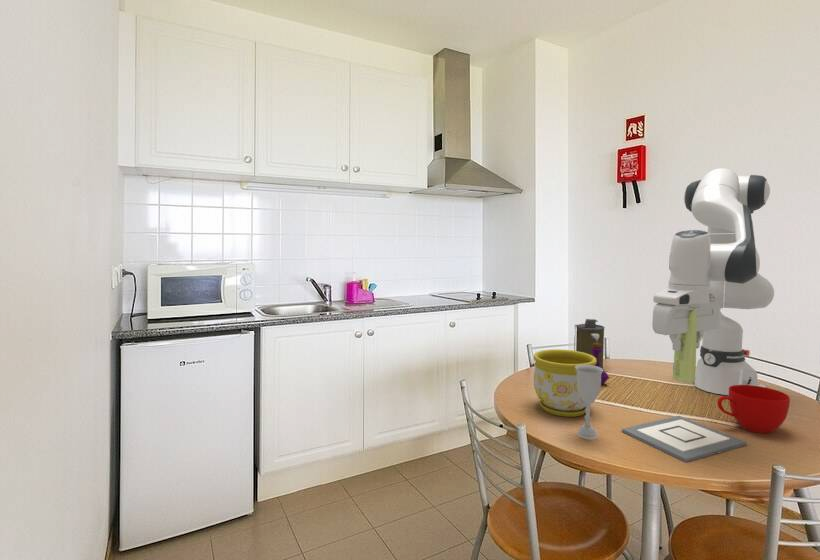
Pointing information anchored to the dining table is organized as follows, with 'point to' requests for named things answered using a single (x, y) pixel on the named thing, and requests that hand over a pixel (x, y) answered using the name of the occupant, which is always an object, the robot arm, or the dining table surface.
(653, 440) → the picture frame
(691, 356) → the tube
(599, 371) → the chalice
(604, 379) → the perfume bottle
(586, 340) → the canister
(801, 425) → the dining table surface
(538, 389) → the flowerpot
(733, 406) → the ceramic cup
